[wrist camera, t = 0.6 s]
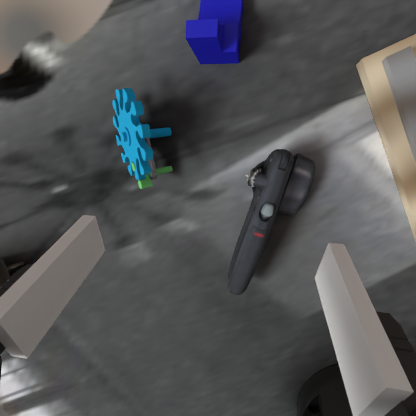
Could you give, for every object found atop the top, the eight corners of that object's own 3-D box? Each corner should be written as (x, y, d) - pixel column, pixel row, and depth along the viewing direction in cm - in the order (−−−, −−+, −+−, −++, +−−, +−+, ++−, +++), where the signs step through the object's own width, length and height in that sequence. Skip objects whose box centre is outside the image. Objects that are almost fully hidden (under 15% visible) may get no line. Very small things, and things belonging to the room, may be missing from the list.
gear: (101, 100, 30) (123, 74, 22) (146, 98, 33) (181, 74, 25) (123, 187, 33) (149, 193, 25) (163, 178, 36) (198, 181, 28)
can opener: (261, 142, 29) (261, 135, 23) (319, 163, 28) (333, 161, 22) (209, 271, 33) (198, 291, 27) (258, 293, 32) (257, 319, 26)
